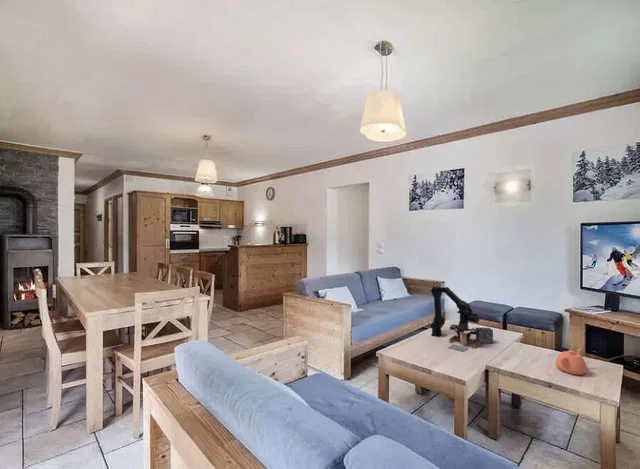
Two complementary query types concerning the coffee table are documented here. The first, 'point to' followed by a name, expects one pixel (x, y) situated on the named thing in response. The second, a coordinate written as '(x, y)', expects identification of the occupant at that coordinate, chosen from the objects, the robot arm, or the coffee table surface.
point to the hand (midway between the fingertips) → (463, 340)
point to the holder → (475, 342)
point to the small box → (485, 335)
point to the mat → (458, 348)
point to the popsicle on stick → (463, 338)
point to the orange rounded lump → (571, 362)
